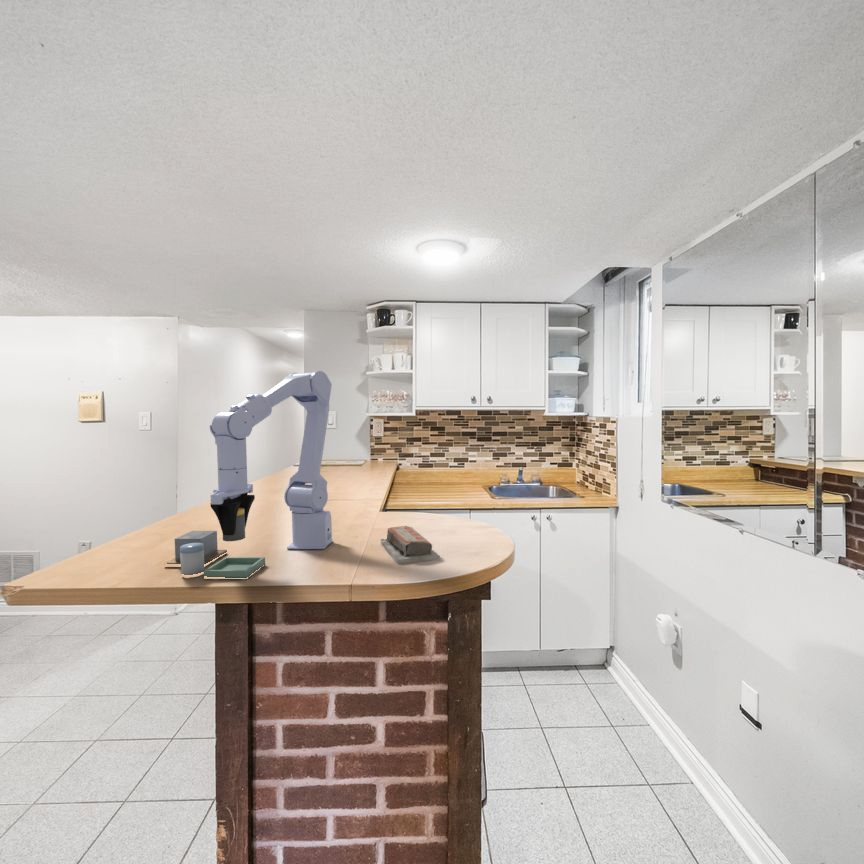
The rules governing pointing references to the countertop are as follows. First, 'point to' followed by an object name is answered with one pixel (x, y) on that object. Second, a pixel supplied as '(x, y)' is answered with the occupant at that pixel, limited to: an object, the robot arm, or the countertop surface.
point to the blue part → (192, 558)
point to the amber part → (237, 527)
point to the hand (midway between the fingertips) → (234, 531)
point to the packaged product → (408, 546)
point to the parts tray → (235, 567)
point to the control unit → (198, 537)
